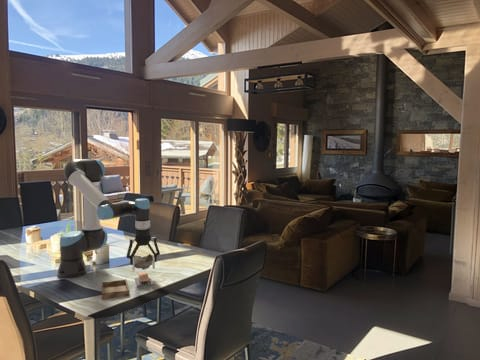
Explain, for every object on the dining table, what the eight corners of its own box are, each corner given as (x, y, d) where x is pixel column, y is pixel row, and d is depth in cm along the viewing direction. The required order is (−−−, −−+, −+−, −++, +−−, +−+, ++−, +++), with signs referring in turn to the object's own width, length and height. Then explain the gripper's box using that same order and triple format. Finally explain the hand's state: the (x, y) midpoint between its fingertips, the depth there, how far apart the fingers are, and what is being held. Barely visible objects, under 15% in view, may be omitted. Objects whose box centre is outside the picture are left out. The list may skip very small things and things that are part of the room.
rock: (151, 262, 210) (154, 253, 203) (153, 272, 207) (156, 263, 200) (131, 264, 206) (133, 255, 199) (132, 274, 202) (134, 265, 195)
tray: (102, 299, 180) (102, 293, 179) (101, 287, 194) (101, 282, 194) (129, 295, 184) (129, 290, 184) (126, 284, 199) (126, 279, 198)
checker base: (137, 287, 194) (137, 282, 194) (134, 279, 205) (134, 274, 205) (153, 285, 197) (152, 280, 197) (149, 278, 208) (149, 273, 208)
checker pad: (140, 281, 195) (140, 279, 195) (138, 274, 205) (138, 272, 205) (149, 280, 197) (149, 278, 196) (146, 273, 207) (146, 271, 207)
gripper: (121, 231, 191) (122, 274, 193) (165, 227, 199) (166, 268, 201) (120, 228, 197) (121, 269, 200) (162, 225, 206) (163, 264, 208)
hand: (143, 269), depth 200 cm, fingers closed on rock, 10 cm apart
